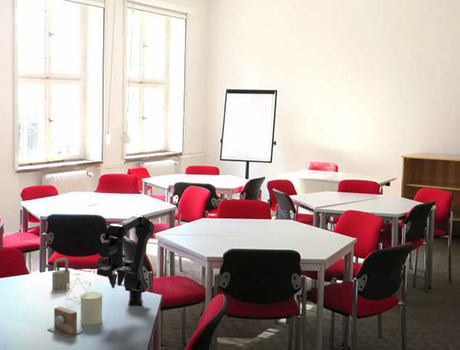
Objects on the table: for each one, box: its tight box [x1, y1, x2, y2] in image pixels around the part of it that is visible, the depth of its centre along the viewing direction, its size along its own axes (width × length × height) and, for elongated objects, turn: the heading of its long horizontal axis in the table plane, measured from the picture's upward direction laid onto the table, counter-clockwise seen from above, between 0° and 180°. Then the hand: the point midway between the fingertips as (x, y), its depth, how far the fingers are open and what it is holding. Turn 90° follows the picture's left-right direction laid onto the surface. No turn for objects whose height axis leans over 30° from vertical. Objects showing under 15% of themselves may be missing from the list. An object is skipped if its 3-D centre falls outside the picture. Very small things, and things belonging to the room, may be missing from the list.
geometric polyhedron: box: [66, 277, 92, 305], centre depth 276 cm, size 12×11×9 cm
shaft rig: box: [47, 306, 83, 339], centre depth 238 cm, size 8×13×9 cm, turn 57°
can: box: [80, 291, 103, 326], centre depth 250 cm, size 9×9×12 cm
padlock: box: [51, 257, 71, 290], centre depth 292 cm, size 4×8×15 cm, turn 133°
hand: (116, 286), depth 257 cm, fingers open, 4 cm apart
